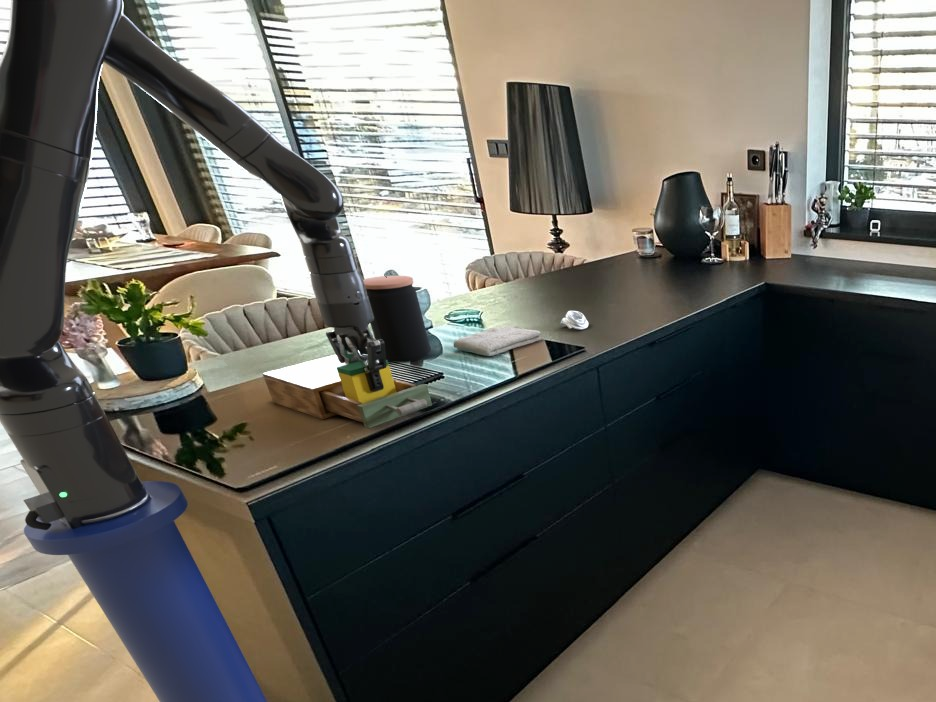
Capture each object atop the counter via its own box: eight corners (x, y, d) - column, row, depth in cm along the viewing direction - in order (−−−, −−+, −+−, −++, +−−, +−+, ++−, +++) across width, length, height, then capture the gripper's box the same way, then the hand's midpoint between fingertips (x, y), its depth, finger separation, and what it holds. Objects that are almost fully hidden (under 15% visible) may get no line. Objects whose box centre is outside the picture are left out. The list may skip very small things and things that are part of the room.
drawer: (448, 409, 119) (443, 389, 117) (385, 434, 109) (378, 411, 108) (382, 390, 127) (376, 370, 125) (317, 411, 117) (310, 390, 115)
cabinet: (393, 395, 127) (385, 367, 125) (323, 419, 116) (312, 389, 114) (344, 381, 134) (335, 354, 131) (273, 402, 123) (262, 373, 120)
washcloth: (545, 339, 163) (543, 328, 162) (488, 359, 149) (486, 346, 147) (511, 333, 168) (509, 322, 166) (453, 351, 153) (451, 339, 152)
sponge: (360, 407, 115) (349, 371, 111) (347, 402, 116) (336, 367, 113) (397, 395, 120) (387, 360, 117) (384, 391, 122) (374, 356, 119)
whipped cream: (577, 325, 179) (574, 308, 177) (595, 326, 176) (593, 309, 175) (556, 330, 172) (553, 312, 171) (575, 331, 170) (572, 313, 168)
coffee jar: (442, 351, 153) (423, 277, 145) (407, 365, 144) (386, 286, 136) (406, 347, 155) (385, 274, 147) (369, 360, 146) (346, 283, 138)
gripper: (295, 295, 109) (326, 387, 117) (344, 306, 104) (373, 401, 111) (340, 288, 115) (366, 375, 123) (388, 297, 110) (413, 388, 117)
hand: (369, 387), depth 117 cm, fingers closed on sponge, 4 cm apart
